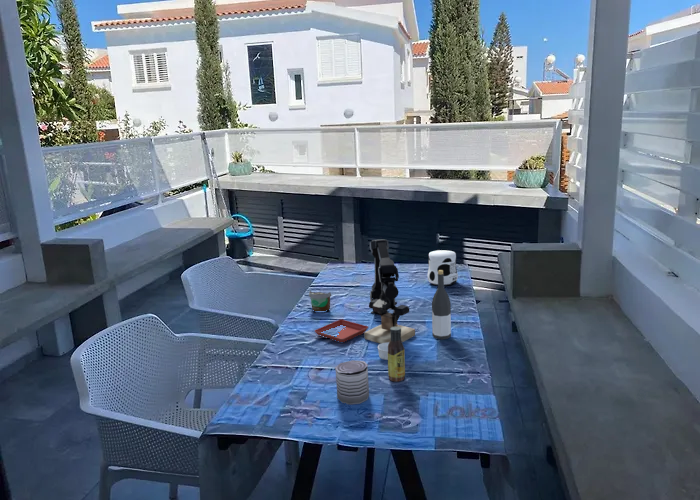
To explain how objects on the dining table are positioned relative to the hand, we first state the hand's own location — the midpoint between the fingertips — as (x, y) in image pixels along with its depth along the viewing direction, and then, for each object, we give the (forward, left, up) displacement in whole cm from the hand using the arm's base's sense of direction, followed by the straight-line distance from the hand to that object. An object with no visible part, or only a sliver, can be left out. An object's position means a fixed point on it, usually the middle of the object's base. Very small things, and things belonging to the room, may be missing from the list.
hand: (389, 325), depth 243 cm
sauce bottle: (+27, -30, -6) cm, 41 cm away
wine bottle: (+18, +14, -6) cm, 24 cm away
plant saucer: (-20, -10, -6) cm, 23 cm away
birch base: (0, 0, -6) cm, 6 cm away
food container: (-51, +6, -6) cm, 52 cm away
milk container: (-25, +81, -6) cm, 85 cm away
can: (+23, -50, -6) cm, 55 cm away
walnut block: (0, 0, -1) cm, 1 cm away
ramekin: (+12, -16, -6) cm, 21 cm away
